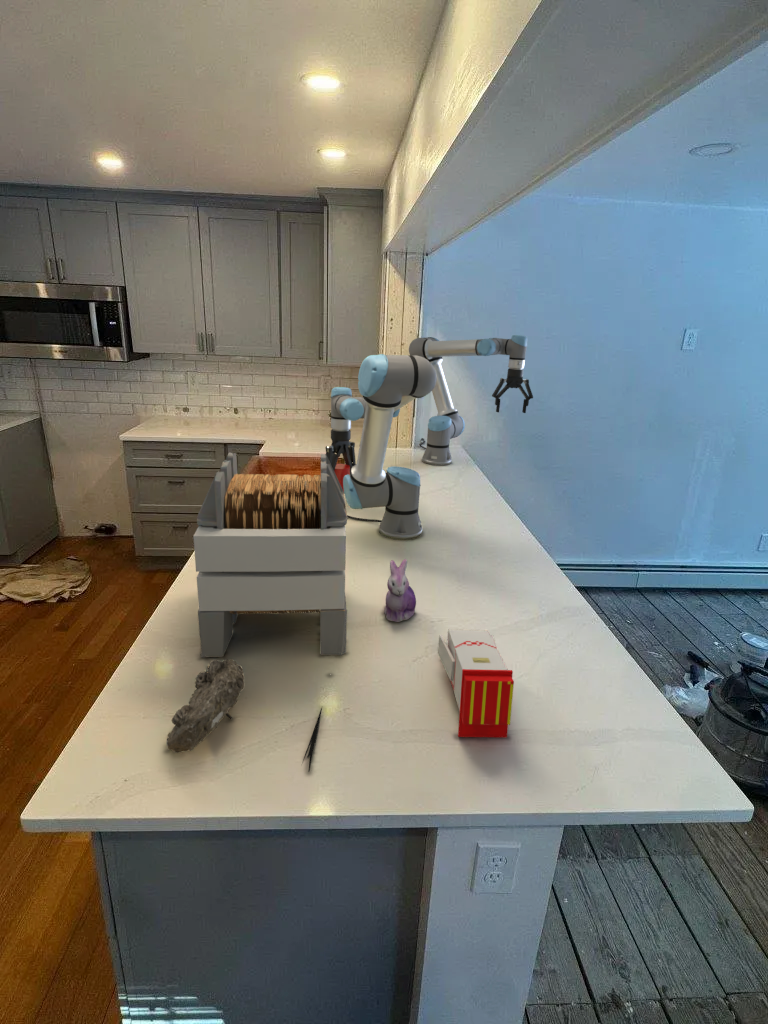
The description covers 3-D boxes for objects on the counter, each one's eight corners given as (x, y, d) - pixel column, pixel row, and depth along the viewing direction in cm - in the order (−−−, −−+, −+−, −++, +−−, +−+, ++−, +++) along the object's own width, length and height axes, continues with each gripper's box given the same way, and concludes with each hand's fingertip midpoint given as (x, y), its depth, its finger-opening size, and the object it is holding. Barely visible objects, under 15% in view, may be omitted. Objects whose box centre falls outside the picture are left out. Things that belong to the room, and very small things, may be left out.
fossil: (192, 660, 117) (244, 628, 112) (224, 691, 120) (276, 661, 115) (142, 746, 98) (202, 712, 93) (182, 779, 101) (242, 748, 96)
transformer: (222, 587, 156) (213, 443, 143) (341, 586, 160) (343, 445, 146) (198, 659, 125) (184, 483, 111) (346, 655, 129) (350, 484, 115)
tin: (340, 486, 227) (340, 462, 224) (353, 491, 222) (354, 466, 219) (325, 490, 222) (325, 465, 218) (338, 495, 217) (339, 470, 213)
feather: (331, 679, 122) (336, 673, 122) (307, 777, 96) (313, 769, 95) (324, 675, 122) (329, 669, 121) (298, 772, 95) (304, 764, 95)
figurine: (392, 627, 141) (395, 572, 136) (374, 608, 149) (376, 556, 144) (425, 619, 145) (429, 566, 140) (405, 601, 154) (408, 550, 149)
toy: (488, 613, 130) (523, 677, 101) (484, 667, 133) (517, 744, 104) (435, 612, 130) (455, 676, 101) (432, 666, 133) (451, 743, 103)
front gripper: (352, 424, 223) (351, 479, 231) (313, 431, 208) (313, 490, 216) (366, 427, 219) (364, 483, 227) (327, 434, 204) (327, 494, 212)
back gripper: (493, 368, 270) (488, 413, 277) (543, 370, 273) (537, 414, 280) (488, 366, 277) (484, 410, 284) (537, 368, 280) (532, 411, 287)
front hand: (339, 486), depth 221 cm, fingers closed on tin, 8 cm apart
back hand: (510, 412), depth 282 cm, fingers open, 13 cm apart
